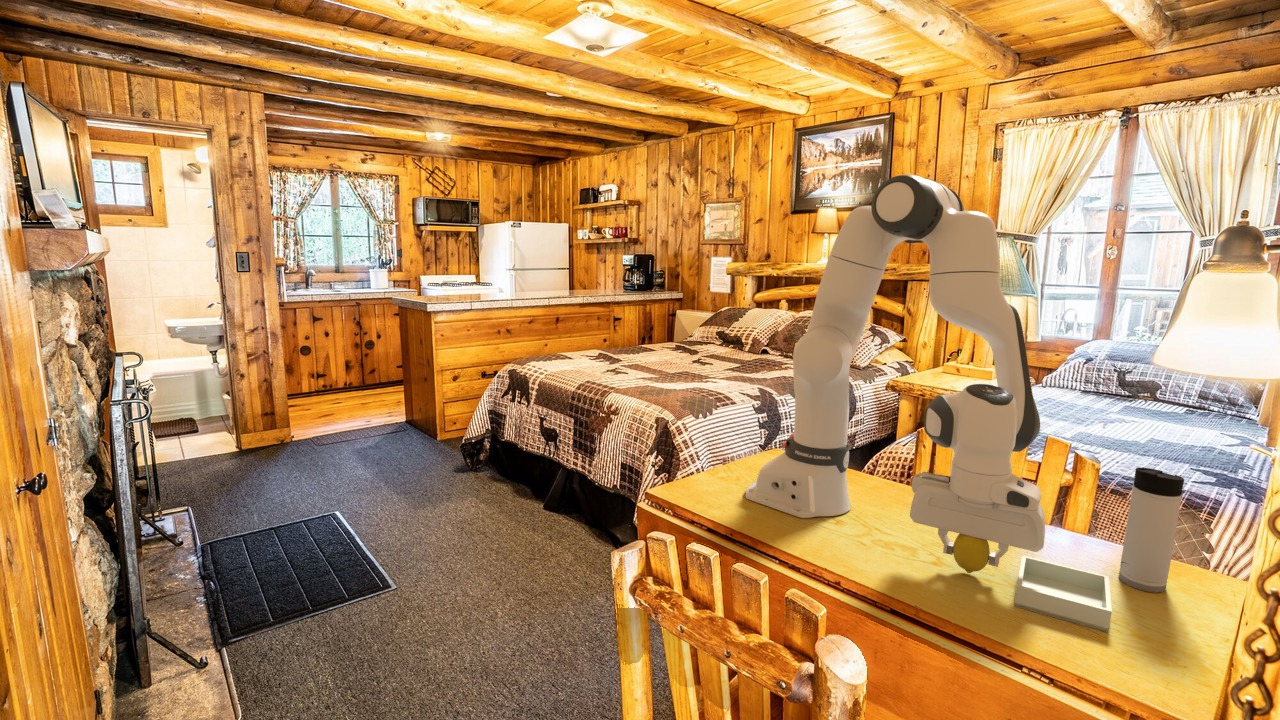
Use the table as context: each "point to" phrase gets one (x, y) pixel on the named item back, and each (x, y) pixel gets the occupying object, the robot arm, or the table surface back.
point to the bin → (1064, 593)
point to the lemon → (971, 552)
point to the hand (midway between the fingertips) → (970, 558)
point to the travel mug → (1151, 529)
